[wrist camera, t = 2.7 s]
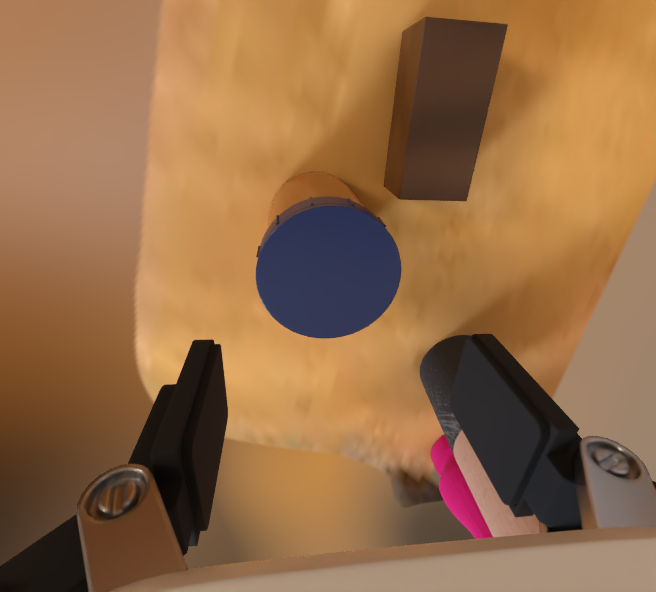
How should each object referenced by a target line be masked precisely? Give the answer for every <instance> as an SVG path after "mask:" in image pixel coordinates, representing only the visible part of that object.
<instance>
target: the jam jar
mask: <svg viewBox="0 0 656 592" xmlns="http://www.w3.org/2000/svg"><path fill="white" fill-rule="evenodd" d="M324 196H332V197H341V198H345V199H348V198H350V199H351V201H354V202H357V203H358V204H360V205H362V204H361V203H360V201H359V200H358V199H357V197H356V196H355V195H354V193H353V192H352V191H351V189H350V188H349V187H348V186H347V185H346V184H345V183H344V182H343V181H341V180H340V179H338V178H336V177H335V176H332V175H330V174H326V173H320V172H310V173H304V174H301V175H298V176H296V177H294V178H292V179H291V180H289V181H288V182H286V183H285V184H284V185H283V186H282V187H281V188H280V189H279V191H278V192H277V194H276V195H275V197H274V199H273V202H272V205H271V209H270V215H269V221H268V228H269V226H270V225H271V223H272V222H273V221H274V220H275V219H276V215H278V216H279V215H280V214H281V213H282V212H284V211H285V210H286V209H288V208H289V207H291V206H292V205H294V204H297V203H299V202H301V201H304V200H307V199H310V198H309V197H312V198H315V197H324ZM362 206H363V205H362ZM268 228H267V229H268Z"/></svg>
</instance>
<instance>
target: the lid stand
mask: <svg viewBox="0 0 656 592" xmlns="http://www.w3.org/2000/svg"><path fill="white" fill-rule="evenodd" d="M507 26H508V25H507V24H499V23H488V22H477V21H465V20H454V19H443V18H432V17H425V18H423V19H422V20H420V21H419V22H417V23H415V24H414V25H412V26H411V27H409V28H407V29H406V30H404V31H403V33H402V41H401V49H400V57H399V65H398V74H397V82H396V90H395V98H394V106H393V115H392V123H391V131H390V139H389V147H388V155H387V164H386V172H385V180H384V187H386V188H387V189H388V190H389V191H390V192H391V193H393V194H394V195H395V196H396V197H397V198H398V199H406V200H440V201H467V197H468V192H469V188H470V184H471V180H472V175H473V171H474V167H475V163H476V158H477V154H478V150H479V145H480V141H481V137H482V133H483V128H484V124H485V120H486V116H487V111H488V107H489V103H490V98H491V94H492V90H493V86H494V81H495V77H496V73H497V69H498V64H499V60H500V56H501V51H502V47H503V43H504V39H505V34H506V30H507Z"/></svg>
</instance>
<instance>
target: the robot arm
mask: <svg viewBox="0 0 656 592" xmlns="http://www.w3.org/2000/svg"><path fill="white" fill-rule="evenodd" d="M449 403H450V408H451V411H452V413H453V414H454V416H455V418H456V420H457V422H458V423H459V425H460V427H461V429H462V431H463V432H464V434H465V436H466V438H467V440H468V441H469V443H470V445H471V447H472V449H473V450H474V452H475V454H476V456H477V458H478V459H479V461H480V463H481V465H482V467H483V468H484V470H485V472H486V474H487V476H488V477H489V479H490V481H491V483H492V485H493V487H494V488H495V490H496V492H497V494H498V496H499V497H500V499H501V501H502V502H503V503H504V504H505V505H508V506H509V507H510V509H511V511H512V513H513V514H514V516H515V517H526V516H533V515H534V514H535V516H536V518H537V519H538V521H539V529H540V533H537V534H526V535H515V536H503V537H492V538H481V539H471V540H460V541H449V542H439V543H428V544H418V545H407V546H397V547H387V548H377V549H367V550H356V551H346V552H336V553H327V554H316V555H306V556H297V557H286V558H277V559H267V560H259V561H251V562H242V563H234V564H226V565H217V566H209V567H201V568H196V569H190V570H188V568H187V565H186V562H185V559H184V557H183V556H184V555H185V554H186V553H187V551H188V546H197V544H198V539H199V534H200V531H205V530H207V528H208V525H209V520H210V514H211V509H212V503H213V498H214V492H215V486H216V481H217V475H218V470H219V464H220V458H221V453H222V447H223V442H224V436H225V431H226V425H227V419H228V407H227V397H226V388H225V379H224V370H223V361H222V352H221V345H220V344H214V340H194V341H193V342H192V345H191V347H190V350H189V353H188V355H187V358H186V360H185V363H184V366H183V368H182V371H181V373H180V376H179V378H178V381H177V384H173V385H164V386H162V388H161V389H160V391H159V394H158V396H157V398H156V401H155V403H154V405H153V407H152V410H151V412H150V414H149V417H148V419H147V421H146V424H145V426H144V428H143V430H142V433H141V435H140V437H139V439H138V442H137V444H136V446H135V449H134V451H133V453H132V456H131V458H130V460H129V462H128V464H124V465H120V466H117V467H114V468H111V469H109V470H107V471H106V472H104V473H102V474H100V475H99V476H98V477H96V478H95V479H94V480H93V481H92V482H91V483H89V485H88V486H87V487H86V488H85V490H84V491H83V492H82V494H81V496H80V498H79V501H78V503H77V512H76V513H77V514H76V515H74V516H73V517H72V518H70V519H69V520H67V521H66V522H64V523H63V524H61V525H60V526H59V527H57V528H55V529H54V530H53V531H51V532H50V533H48V534H47V535H45V536H44V537H42V538H41V539H39V540H38V541H36V542H35V543H34V544H32V545H31V546H29V547H28V548H26V549H25V550H23V551H22V552H20V553H19V554H18V555H16V556H14V557H13V558H12V559H10V560H9V561H7V562H6V563H4V564H3V565H1V566H0V592H656V482H654V481H652V479H651V477H650V474H649V472H648V470H647V468H646V466H645V465H644V463H643V462H642V461H641V460H640V459H639V457H637V455H635V454H634V453H633V452H632V451H630V450H629V449H628V448H626V447H624V446H623V445H621V444H619V443H618V442H615V441H613V440H610V439H608V438H603V437H599V436H588V437H585V438H583V439H582V438H581V437H580V436H579V435H578V434H577V432H578V430H579V428H578V427H577V426H576V425H575V424H574V423H573V421H572V420H571V419H570V418H569V417H568V416H567V415H566V414H565V413H564V412H563V410H562V409H561V408H560V407H559V406H558V405H557V404H556V403H555V402H554V401H553V400H552V399H551V397H550V396H549V395H548V394H547V393H546V392H545V391H544V390H543V389H542V388H541V387H540V386H539V384H538V383H537V382H536V381H535V380H534V379H533V378H532V377H531V376H530V375H529V374H528V372H527V371H526V370H525V369H524V368H523V367H522V366H521V365H520V364H519V363H518V362H517V361H516V359H515V358H514V357H513V356H512V355H511V354H510V353H509V352H508V351H507V350H506V349H505V348H504V346H503V345H502V344H501V343H500V342H499V341H498V340H497V339H496V338H495V337H494V336H493V335H492V334H474V335H472V336H471V338H470V339H467V340H466V342H465V346H464V349H463V353H462V356H461V360H460V364H459V367H458V371H457V374H456V378H455V381H454V385H453V389H452V392H451V396H450V400H449Z"/></svg>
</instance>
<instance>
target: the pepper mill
mask: <svg viewBox="0 0 656 592" xmlns="http://www.w3.org/2000/svg"><path fill="white" fill-rule="evenodd" d="M431 459H432V461H433V463H434V466H435V468H436V471H437V472H438V473H439V475H441V477H440V480H439V489H440V493H441V495H442V497H443V499H444V501H445V503H446V505H447V506H448V508H449V509H450V511H451V512H452V513H453V515H455V517H456V518H457V519H458V520H459V521H460V522H461V523H462V524H463V525H464V526H465V527H466V528H467V529H468V530H469V531H470V532H471V533H472V534H473V536H474V537H475V539H481V538H492V537H493V536H492V534H491V532H490V530H489V528H488V526H487V523H486V521H485V519H484V517H483V515H482V513H481V511H480V509H479V507H478V505H477V503H476V501H475V499H474V497H473V495H472V492H471V490H470V488H469V486H468V484H467V482H466V480H465V478H464V476H463V474H462V472H461V470H460V468H459V466H458V464H457V462H456V459H455V457H454V455H453V453H452V450H451V448H450V446H449V443H448V441H447V439H446V436H445V435H444V436H442V437H441V438H440V439H439V440H437V441H436V443H435V444H434V445H433V447H432V450H431Z"/></svg>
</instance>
